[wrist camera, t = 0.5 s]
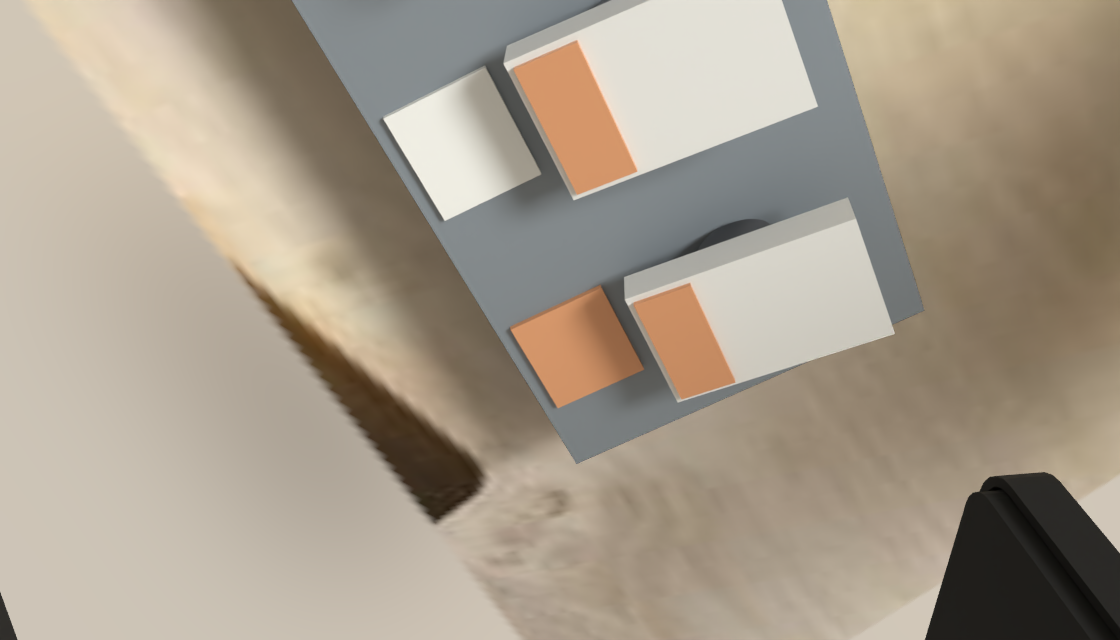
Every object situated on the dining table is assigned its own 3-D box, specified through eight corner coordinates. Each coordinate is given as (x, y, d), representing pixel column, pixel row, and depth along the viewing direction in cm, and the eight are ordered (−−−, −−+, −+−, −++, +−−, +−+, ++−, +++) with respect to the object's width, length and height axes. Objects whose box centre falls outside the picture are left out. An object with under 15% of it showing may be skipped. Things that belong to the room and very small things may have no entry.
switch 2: (840, 177, 31) (856, 221, 29) (878, 288, 33) (896, 337, 31) (623, 255, 33) (624, 302, 31) (673, 355, 35) (678, 405, 33)
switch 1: (753, -79, 27) (765, -48, 25) (804, 70, 29) (818, 109, 27) (510, 29, 29) (503, 65, 27) (575, 160, 31) (573, 203, 29)
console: (614, -543, 25) (648, -577, 22) (879, 253, 38) (926, 313, 35) (160, -280, 27) (122, -271, 23) (562, 397, 40) (577, 467, 37)
